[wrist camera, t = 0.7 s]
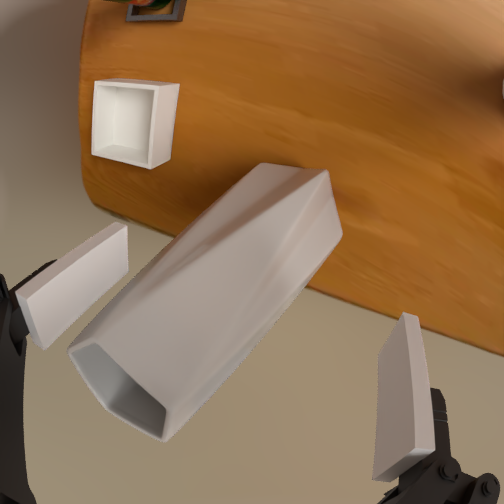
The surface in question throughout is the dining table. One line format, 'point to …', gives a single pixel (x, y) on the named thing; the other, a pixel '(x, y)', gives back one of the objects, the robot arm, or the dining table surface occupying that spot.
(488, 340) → the dining table surface
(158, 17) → the socket ring
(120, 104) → the bin
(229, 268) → the vase
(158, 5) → the soda can
